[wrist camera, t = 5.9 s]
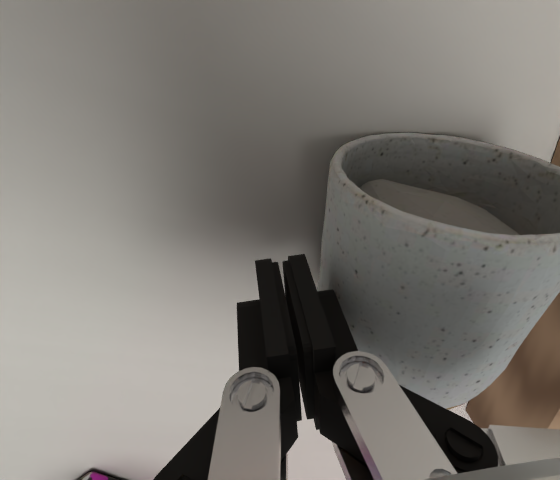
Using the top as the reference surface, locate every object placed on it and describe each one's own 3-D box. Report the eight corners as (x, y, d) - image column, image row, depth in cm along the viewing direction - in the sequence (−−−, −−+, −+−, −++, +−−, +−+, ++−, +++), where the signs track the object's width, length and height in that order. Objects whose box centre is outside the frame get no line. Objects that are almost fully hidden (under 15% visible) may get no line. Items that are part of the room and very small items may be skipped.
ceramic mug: (298, 297, 18) (344, 457, 11) (306, 132, 13) (389, 237, 7) (490, 280, 19) (630, 413, 13) (554, 125, 15) (817, 208, 8)
